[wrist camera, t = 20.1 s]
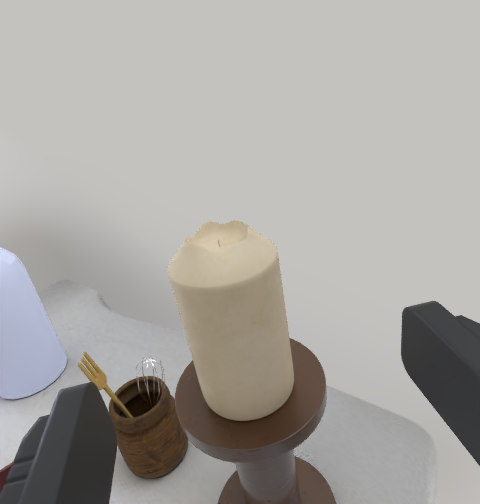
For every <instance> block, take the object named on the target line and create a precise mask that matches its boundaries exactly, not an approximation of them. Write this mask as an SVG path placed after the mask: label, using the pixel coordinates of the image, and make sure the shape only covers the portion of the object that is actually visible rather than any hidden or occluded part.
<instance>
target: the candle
mask: <svg viewBox="0 0 480 504" xmlns="http://www.w3.org/2000/svg"><path fill="white" fill-rule="evenodd" d="M168 275H169V279H170V282H171V286H172V289H173V293H174V296H175V300H176V303H177V307H178V310H179V314H180V317H181V320H182V324H183V328H184V331H185V335H186V338H187V342H188V345H189V349H190V352H191V356H192V359H193V363H194V366H195V370H196V373H197V376H198V380H199V383H200V387H201V390H202V393H203V396H204V398H205V400H206V402H207V404H208V405H209V407H210V408H211V409H212V410H213V411H214V412H215V413H217V414H218V415H220V416H222V417H224V418H227V419H231V420H237V421H249V420H255V419H259V418H262V417H265V416H267V415H269V414H271V413H273V412H274V411H276V410H278V409H279V408H280V407H281V406H282V405H283V404H284V403H285V402H286V401H287V399H288V398H289V396H290V394H291V392H292V389H293V384H294V370H293V362H292V354H291V347H290V339H289V332H288V325H287V317H286V310H285V303H284V295H283V288H282V280H281V274H280V266H279V258H278V252H277V248H276V246H275V244H274V243H272V242H271V241H270V240H269V239H267V238H265V237H264V236H263V235H261V234H260V233H258V232H257V231H255V230H254V229H252V228H251V227H250V226H248V225H247V224H245V223H243V222H239V221H231V222H229V223H227V224H219V223H215V222H207V223H204V224H203V225H202V226H201V227H200V228H199V230H198V231H197V233H196V234H195V235H194V236H193V237H190V236H188V237H187V238H186V240H185V242H184V243H183V245H182V246H181V248H180V249H179V250H178V251H177V252H176V254H175V256H174V257H173V258H172V260H171V262H170V264H169V266H168Z"/></svg>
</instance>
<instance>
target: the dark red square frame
mask: <svg viewBox="0 0 480 504" xmlns="http://www.w3.org/2000/svg"><path fill="white" fill-rule="evenodd" d="M12 465H14V462H12V463H11V464H9V465H7V466H6V467H4V468H3V469H1V470H0V493H1V491H2V488H3V486H4V485H6V478H7V476H8V474H9V471H10V469H11V466H12Z"/></svg>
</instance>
